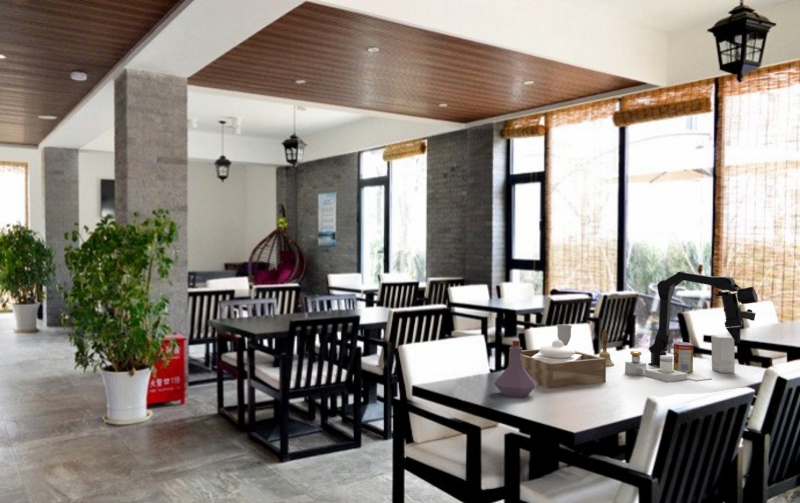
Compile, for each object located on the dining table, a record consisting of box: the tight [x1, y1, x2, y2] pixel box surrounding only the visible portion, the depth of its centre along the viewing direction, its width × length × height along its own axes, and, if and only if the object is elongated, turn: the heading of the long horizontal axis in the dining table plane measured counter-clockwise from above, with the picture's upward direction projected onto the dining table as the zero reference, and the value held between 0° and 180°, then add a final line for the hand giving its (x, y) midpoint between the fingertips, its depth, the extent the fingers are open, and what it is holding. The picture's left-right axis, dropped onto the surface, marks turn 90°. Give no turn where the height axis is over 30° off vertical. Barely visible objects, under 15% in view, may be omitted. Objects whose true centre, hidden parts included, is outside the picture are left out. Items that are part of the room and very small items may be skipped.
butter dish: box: [532, 339, 582, 363], centre depth 256 cm, size 18×18×16 cm
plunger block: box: [624, 360, 647, 377], centre depth 265 cm, size 6×6×5 cm
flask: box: [493, 339, 538, 399], centre depth 227 cm, size 16×16×20 cm
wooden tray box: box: [508, 348, 607, 389], centre depth 256 cm, size 28×28×10 cm
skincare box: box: [710, 334, 736, 374], centre depth 272 cm, size 8×7×16 cm
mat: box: [686, 373, 713, 382], centre depth 258 cm, size 9×9×1 cm
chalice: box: [556, 324, 573, 346], centre depth 284 cm, size 7×7×18 cm
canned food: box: [672, 341, 694, 373], centre depth 273 cm, size 8×8×12 cm
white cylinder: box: [659, 354, 674, 373], centre depth 258 cm, size 5×5×9 cm
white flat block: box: [644, 367, 688, 382], centre depth 258 cm, size 12×11×2 cm
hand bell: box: [598, 329, 615, 367], centre depth 285 cm, size 8×8×16 cm
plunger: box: [629, 350, 642, 364], centre depth 265 cm, size 4×4×7 cm
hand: (738, 342), depth 261 cm, fingers open, 9 cm apart
